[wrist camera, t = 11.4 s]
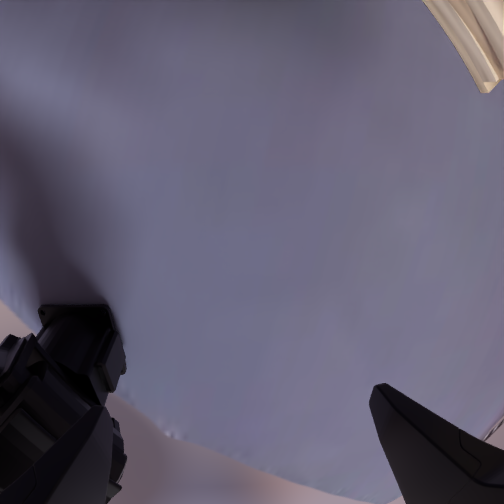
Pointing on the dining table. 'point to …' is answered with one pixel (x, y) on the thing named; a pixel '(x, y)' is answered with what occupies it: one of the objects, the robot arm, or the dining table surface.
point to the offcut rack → (475, 36)
